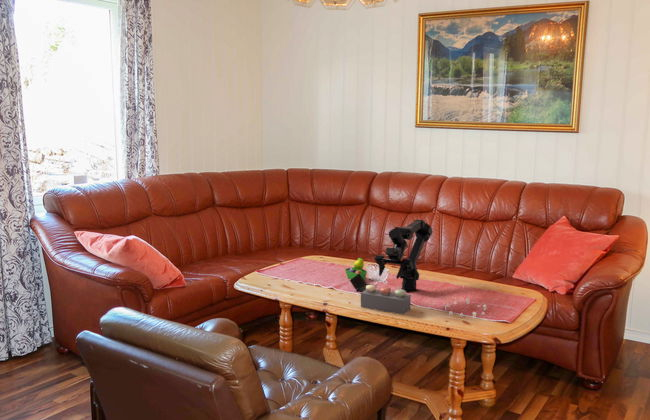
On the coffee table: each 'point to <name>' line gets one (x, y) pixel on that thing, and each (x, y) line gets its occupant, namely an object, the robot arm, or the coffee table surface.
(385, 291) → the red button
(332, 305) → the coffee table surface
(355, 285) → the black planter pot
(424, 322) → the coffee table surface
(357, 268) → the fruit basket
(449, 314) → the game piece set
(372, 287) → the cream button
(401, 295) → the green button
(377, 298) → the button panel
